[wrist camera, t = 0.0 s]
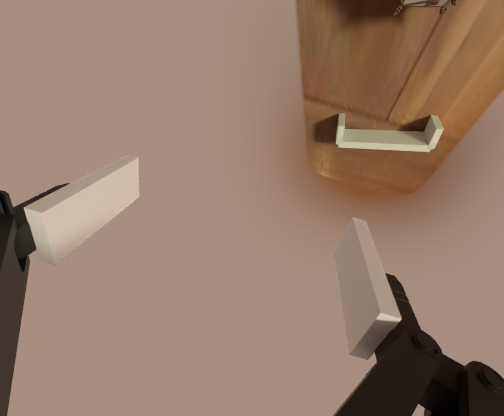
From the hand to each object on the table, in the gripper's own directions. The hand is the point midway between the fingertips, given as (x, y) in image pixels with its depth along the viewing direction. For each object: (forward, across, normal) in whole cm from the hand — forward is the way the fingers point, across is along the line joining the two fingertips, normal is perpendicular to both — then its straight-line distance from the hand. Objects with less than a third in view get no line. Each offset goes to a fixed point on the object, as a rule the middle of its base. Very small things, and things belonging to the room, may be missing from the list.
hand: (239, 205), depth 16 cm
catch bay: (+29, +15, +3) cm, 32 cm away
